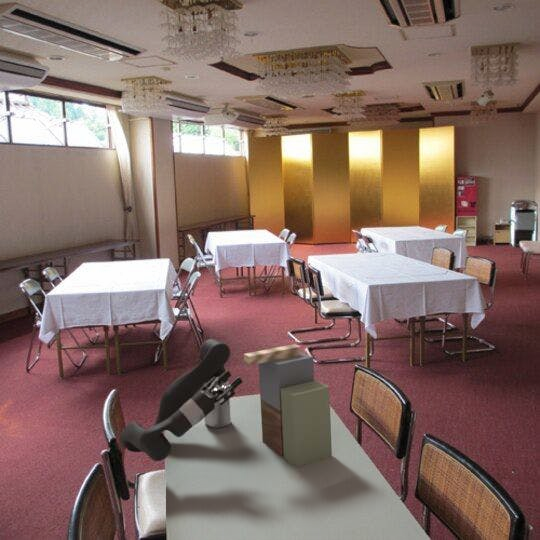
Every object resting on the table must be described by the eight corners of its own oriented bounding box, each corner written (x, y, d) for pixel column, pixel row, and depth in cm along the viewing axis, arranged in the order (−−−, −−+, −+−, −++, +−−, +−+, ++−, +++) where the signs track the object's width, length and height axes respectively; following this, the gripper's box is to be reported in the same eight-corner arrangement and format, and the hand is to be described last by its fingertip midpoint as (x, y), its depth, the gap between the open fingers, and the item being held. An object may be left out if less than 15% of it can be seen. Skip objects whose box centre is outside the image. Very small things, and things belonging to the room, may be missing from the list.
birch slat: (249, 365, 189) (249, 356, 188) (244, 362, 192) (243, 354, 192) (300, 354, 198) (300, 346, 198) (294, 352, 202) (294, 344, 201)
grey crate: (280, 410, 190) (278, 364, 188) (260, 398, 202) (258, 355, 200) (315, 401, 197) (313, 357, 195) (294, 390, 209) (292, 348, 207)
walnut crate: (282, 456, 192) (280, 410, 190) (262, 441, 204) (260, 398, 202) (316, 445, 199) (315, 401, 197) (295, 432, 211) (294, 390, 209)
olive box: (296, 466, 184) (293, 395, 181) (283, 457, 191) (280, 388, 188) (331, 455, 191) (329, 386, 188) (318, 446, 198) (315, 380, 195)
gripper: (194, 410, 190) (231, 378, 196) (211, 424, 178) (250, 390, 183) (182, 393, 187) (220, 362, 193) (199, 406, 175) (238, 372, 181)
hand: (235, 375), depth 188 cm, fingers open, 8 cm apart
